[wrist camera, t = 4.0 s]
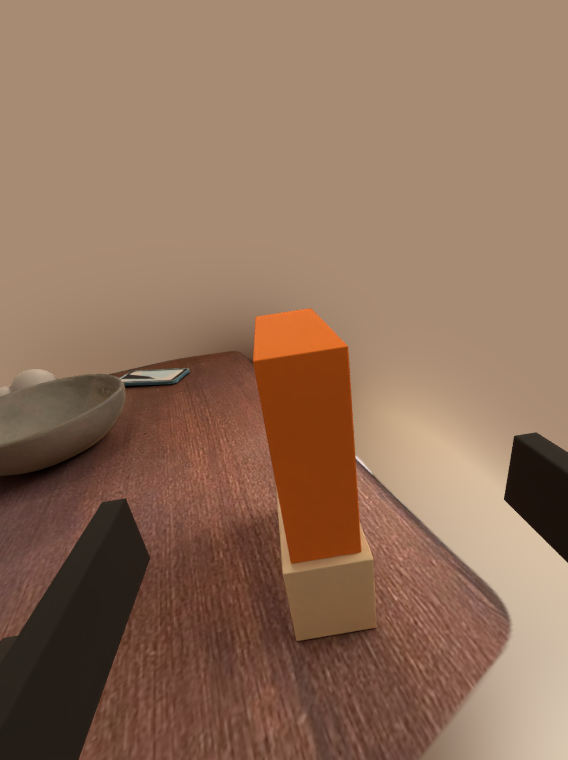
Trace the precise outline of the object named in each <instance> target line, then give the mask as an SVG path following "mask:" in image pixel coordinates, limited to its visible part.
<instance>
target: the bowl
mask: <svg viewBox="0 0 568 760" xmlns="http://www.w3.org/2000/svg"><path fill="white" fill-rule="evenodd" d="M125 396H126V393H125V386H124V383H123V382H122V381H121V380H120V379H119V378H117V377H115V376H113V375H107V374H89V375H79V376H73V377H68V378H62V379H57V380H52V381H48V382H44V383H40V384H37V385H33V386H30V387H26V388H23V389H20V390H17V391H14V392H11V393H9V394H6V395H3V396H1V397H0V476H4V475H17V474H23V473H29V472H33V471H37V470H41V469H44V468H47V467H50V466H53V465H56V464H58V463H60V462H63V461H65V460H67V459H69V458H71V457H73V456H75V455H77V454H79V453H81V452H83V451H85V450H86V449H88V448H89V447H91V446H93V445H94V444H95V443H97V442H98V441H99V440H101V439H102V438H103V437H104V436H105V435H106V434H107V433H108V432H109V431H110V430H111V429H112V428H113V426H114V425H115V423H116V421H117V420H118V418H119V416H120V414H121V412H122V409H123V406H124V404H125Z"/></svg>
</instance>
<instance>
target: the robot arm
mask: <svg viewBox="0 0 568 760" xmlns="http://www.w3.org/2000/svg"><path fill="white" fill-rule="evenodd" d="M504 500H505V501H506V502H507V503H508V504H509V505H510V506H511V507H512V508H513V509H514V510H515V511H516V512H517V513H518V514H519V515H520V516H521V517H522V518H523V519H524V520H525V521H526V522H527V523H528V524H529V525H530V526H531V527H532V528H533V529H534V530H535V531H536V532H537V533H538V534H539V535H540V536H541V537H543V539H544V540H545V541H546V542H547V543H548V544H549V545H551V547H552V548H553V549H555V550H556V552H558V554H559V555H561V556H562V557H563V558H564V559H565V560H566V561H567V562H568V452H566V451H565V450H563V449H562V448H560V447H558V446H557V445H555V444H554V443H552V442H551V441H549V440H547V439H546V438H544V437H542V436H541V435H540V434H538V433H530V434H524V435H517V436H514V442H513V447H512V453H511V459H510V466H509V472H508V478H507V484H506V490H505V496H504ZM149 560H150V556H149V554H148V552H147V549H146V547H145V544H144V542H143V539H142V537H141V535H140V532H139V530H138V527H137V525H136V522H135V520H134V518H133V515H132V513H131V510H130V508H129V505H128V503H127V501H126V498H125V499H119V500H113V501H107V502H102V503H101V505H100V507H99V508H98V510H97V511H96V513H95V515H94V516H93V518H92V519H91V521H90V523H89V524H88V526H87V527H86V529H85V530H84V532H83V534H82V535H81V537H80V538H79V540H78V542H77V543H76V545H75V546H74V548H73V550H72V551H71V553H70V554H69V556H68V557H67V559H66V561H65V562H64V564H63V565H62V567H61V569H60V570H59V572H58V573H57V575H56V577H55V578H54V580H53V581H52V583H51V584H50V586H49V588H48V589H47V591H46V592H45V594H44V596H43V597H42V599H41V600H40V602H39V604H38V605H37V607H36V608H35V610H34V611H33V613H32V615H31V616H30V618H29V619H28V621H27V623H26V624H25V626H24V627H23V629H22V631H21V632H20V634H19V635H18V636H14V637H8V638H3V639H2V640H1V641H0V760H78V759H79V756H80V754H81V751H82V748H83V745H84V742H85V740H86V737H87V734H88V731H89V728H90V726H91V723H92V720H93V717H94V714H95V711H96V709H97V706H98V703H99V700H100V697H101V695H102V692H103V689H104V686H105V683H106V681H107V678H108V675H109V672H110V669H111V666H112V664H113V661H114V658H115V655H116V652H117V650H118V647H119V644H120V641H121V638H122V636H123V633H124V630H125V627H126V624H127V622H128V619H129V616H130V613H131V610H132V607H133V605H134V602H135V599H136V596H137V593H138V591H139V588H140V585H141V582H142V579H143V577H144V574H145V571H146V568H147V565H148V562H149Z"/></svg>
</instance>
